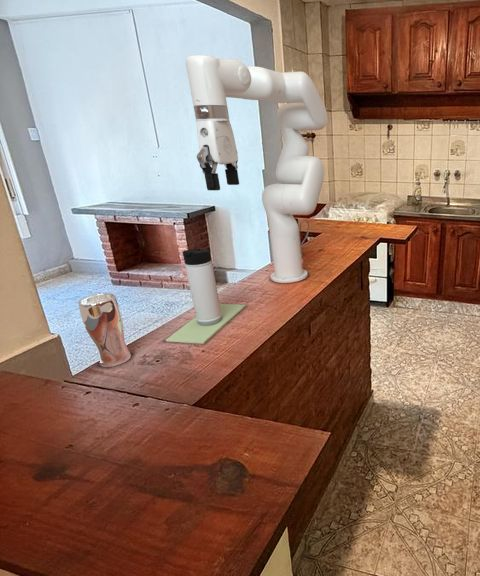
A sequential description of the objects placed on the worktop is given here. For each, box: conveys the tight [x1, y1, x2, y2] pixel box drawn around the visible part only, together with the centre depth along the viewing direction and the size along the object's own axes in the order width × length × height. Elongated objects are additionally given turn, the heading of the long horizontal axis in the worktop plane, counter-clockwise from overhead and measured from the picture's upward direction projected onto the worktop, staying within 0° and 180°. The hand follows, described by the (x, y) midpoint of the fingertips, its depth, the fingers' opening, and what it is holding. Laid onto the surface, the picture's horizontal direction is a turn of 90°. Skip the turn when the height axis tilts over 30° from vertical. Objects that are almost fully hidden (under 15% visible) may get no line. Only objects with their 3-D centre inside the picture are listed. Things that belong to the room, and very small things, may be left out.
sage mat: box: [165, 303, 247, 345], centre depth 106 cm, size 22×10×1 cm, turn 172°
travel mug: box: [182, 248, 222, 326], centre depth 102 cm, size 6×7×20 cm
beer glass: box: [77, 292, 132, 368], centre depth 87 cm, size 7×7×15 cm
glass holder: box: [294, 217, 310, 258], centre depth 160 cm, size 9×14×15 cm, turn 139°
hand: (224, 187), depth 102 cm, fingers open, 9 cm apart
